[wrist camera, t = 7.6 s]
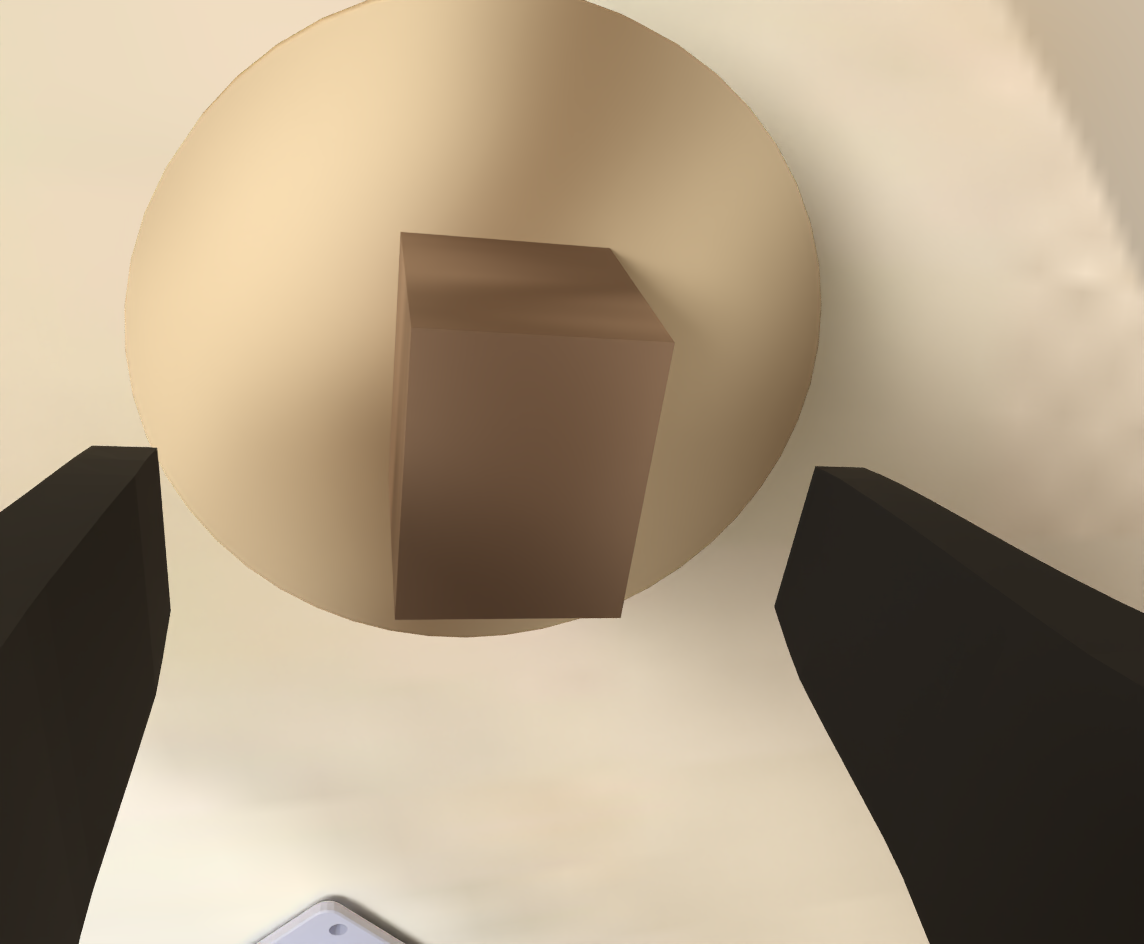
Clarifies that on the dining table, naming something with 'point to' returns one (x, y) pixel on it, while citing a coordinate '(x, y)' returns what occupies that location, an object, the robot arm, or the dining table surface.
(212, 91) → the dining table surface
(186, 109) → the dining table surface
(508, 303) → the oak lid
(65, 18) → the dining table surface
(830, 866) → the dining table surface
